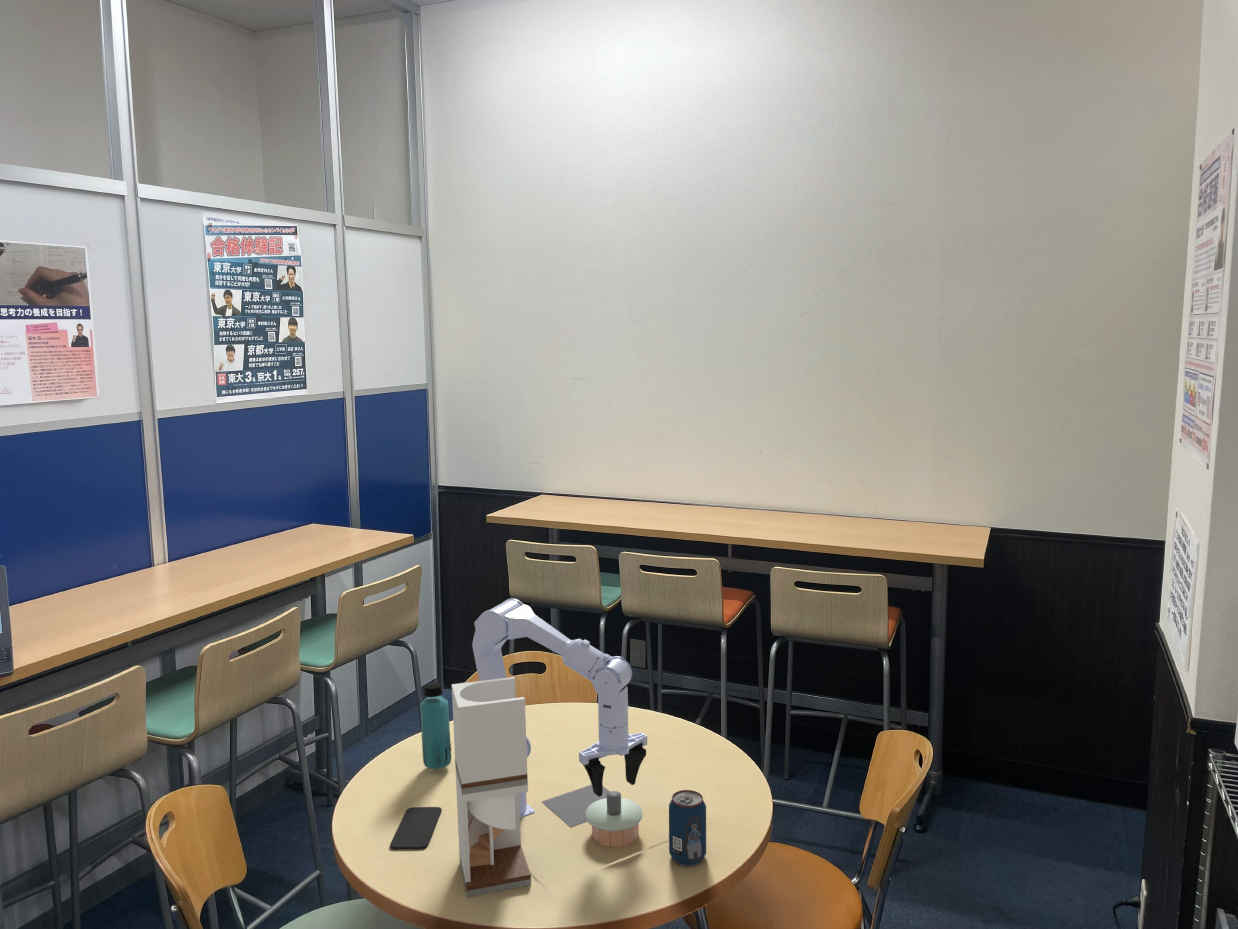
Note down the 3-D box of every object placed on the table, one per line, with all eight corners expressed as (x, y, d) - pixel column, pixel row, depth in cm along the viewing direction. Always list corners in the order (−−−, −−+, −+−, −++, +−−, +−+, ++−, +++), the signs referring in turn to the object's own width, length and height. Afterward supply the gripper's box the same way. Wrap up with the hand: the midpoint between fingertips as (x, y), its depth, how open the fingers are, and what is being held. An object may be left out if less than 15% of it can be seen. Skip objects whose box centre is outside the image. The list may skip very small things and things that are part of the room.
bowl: (608, 853, 171) (608, 834, 171) (583, 832, 179) (583, 813, 178) (647, 838, 176) (647, 819, 176) (621, 818, 184) (621, 799, 183)
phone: (443, 806, 189) (426, 847, 174) (443, 810, 189) (427, 851, 174) (407, 807, 189) (388, 847, 174) (407, 810, 189) (388, 851, 174)
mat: (570, 829, 180) (570, 827, 180) (541, 803, 190) (541, 801, 190) (629, 807, 188) (629, 806, 188) (598, 784, 198) (598, 782, 198)
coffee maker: (466, 897, 159) (458, 707, 154) (459, 863, 169) (451, 684, 164) (531, 885, 162) (524, 698, 157) (520, 852, 172) (514, 676, 167)
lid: (605, 837, 170) (604, 815, 169) (575, 811, 179) (575, 791, 178) (653, 819, 176) (653, 798, 175) (622, 795, 185) (622, 775, 184)
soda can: (683, 843, 175) (682, 784, 173) (713, 855, 170) (713, 795, 168) (661, 859, 169) (661, 799, 168) (692, 873, 165) (692, 811, 163)
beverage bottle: (449, 775, 202) (445, 690, 199) (419, 775, 203) (415, 690, 200) (455, 761, 209) (451, 679, 206) (426, 762, 209) (422, 679, 206)
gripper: (592, 739, 167) (593, 808, 169) (656, 720, 175) (656, 786, 177) (572, 726, 173) (574, 792, 175) (635, 707, 180) (636, 771, 183)
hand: (614, 788), depth 176 cm, fingers open, 7 cm apart
